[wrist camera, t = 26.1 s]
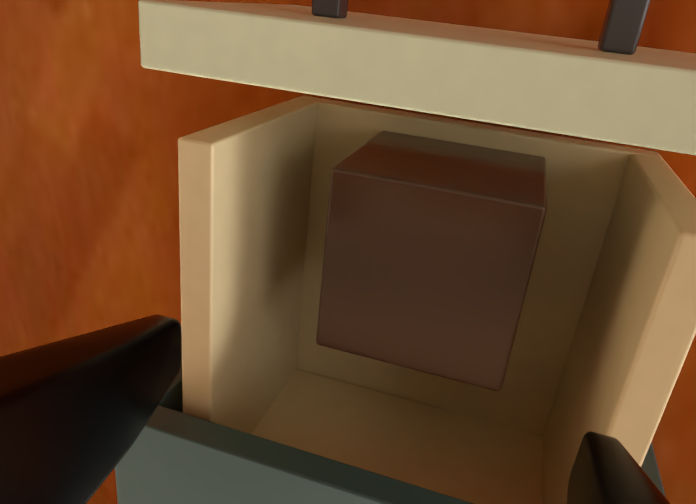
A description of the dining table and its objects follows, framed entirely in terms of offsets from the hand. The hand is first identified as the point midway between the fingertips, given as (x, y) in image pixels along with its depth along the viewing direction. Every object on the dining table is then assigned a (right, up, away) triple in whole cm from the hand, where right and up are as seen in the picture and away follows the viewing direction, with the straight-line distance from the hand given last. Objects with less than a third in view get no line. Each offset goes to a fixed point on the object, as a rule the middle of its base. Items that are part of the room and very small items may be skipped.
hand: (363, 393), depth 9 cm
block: (+3, +3, +8) cm, 9 cm away
